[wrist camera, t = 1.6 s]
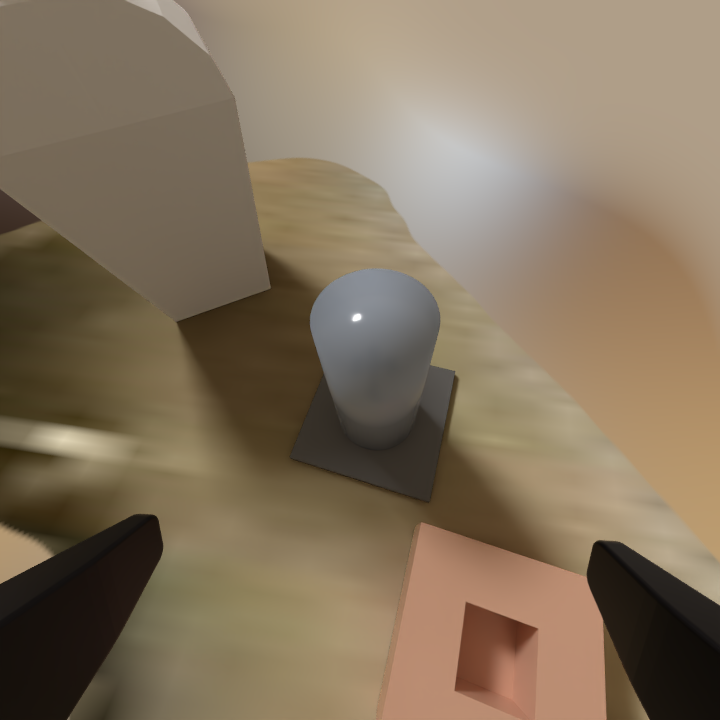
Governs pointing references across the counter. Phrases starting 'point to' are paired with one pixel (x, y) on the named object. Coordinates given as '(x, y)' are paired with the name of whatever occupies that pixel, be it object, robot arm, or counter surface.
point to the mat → (380, 467)
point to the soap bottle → (130, 147)
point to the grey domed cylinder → (375, 352)
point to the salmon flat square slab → (491, 637)
